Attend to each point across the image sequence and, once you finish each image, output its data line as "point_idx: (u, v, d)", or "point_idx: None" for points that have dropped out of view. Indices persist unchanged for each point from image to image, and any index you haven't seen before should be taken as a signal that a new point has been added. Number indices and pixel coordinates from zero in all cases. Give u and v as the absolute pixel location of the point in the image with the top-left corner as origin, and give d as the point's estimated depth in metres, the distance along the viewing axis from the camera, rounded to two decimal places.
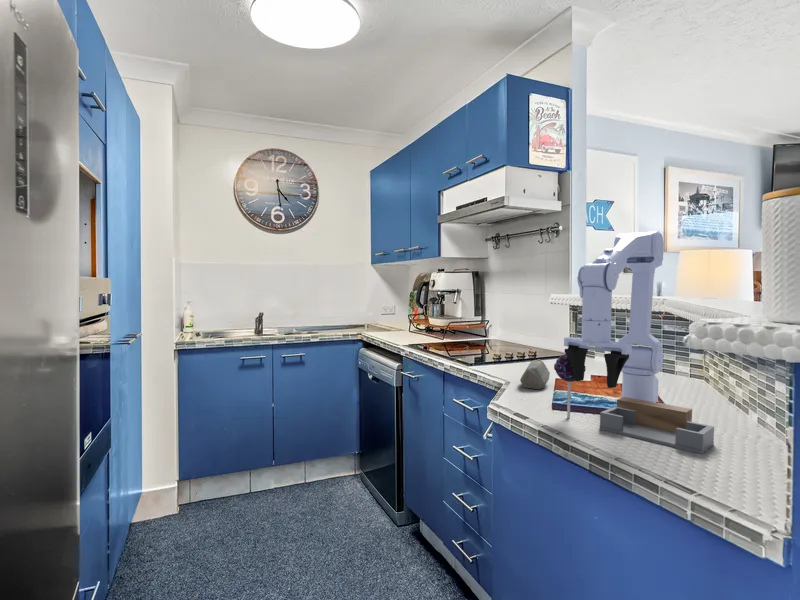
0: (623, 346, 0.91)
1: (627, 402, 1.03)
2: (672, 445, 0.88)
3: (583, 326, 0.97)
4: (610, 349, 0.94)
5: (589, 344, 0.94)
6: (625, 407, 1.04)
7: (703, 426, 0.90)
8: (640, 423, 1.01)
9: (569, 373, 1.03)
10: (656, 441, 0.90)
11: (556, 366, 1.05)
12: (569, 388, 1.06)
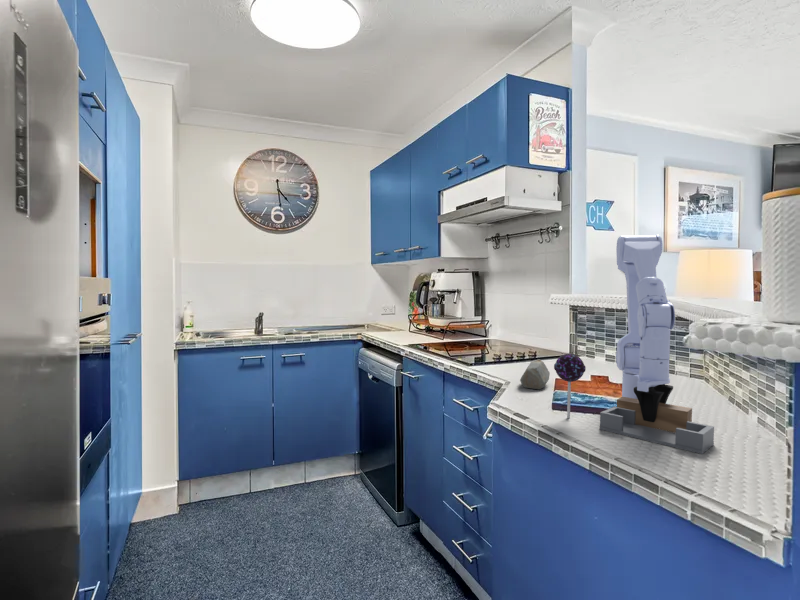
0: None
1: (627, 402, 1.03)
2: (672, 445, 0.88)
3: None
4: None
5: (634, 377, 1.03)
6: (625, 407, 1.03)
7: (703, 426, 0.90)
8: (640, 423, 1.01)
9: (569, 373, 1.03)
10: (656, 441, 0.90)
11: (556, 366, 1.05)
12: (569, 388, 1.06)
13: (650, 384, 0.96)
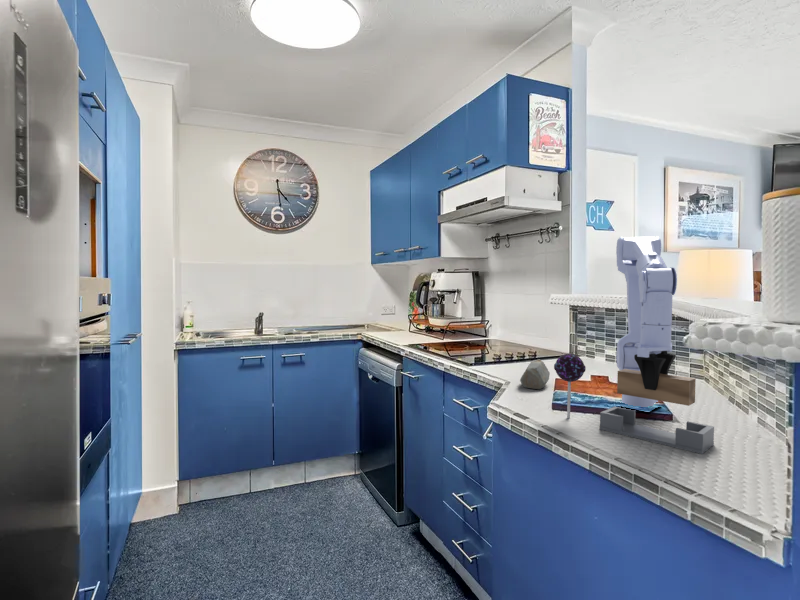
0: None
1: (628, 373, 1.00)
2: (672, 445, 0.88)
3: None
4: None
5: (635, 345, 1.00)
6: (626, 378, 1.00)
7: (703, 426, 0.90)
8: (641, 394, 0.98)
9: (569, 373, 1.03)
10: (656, 441, 0.90)
11: (556, 366, 1.05)
12: (569, 388, 1.06)
13: (651, 350, 0.93)
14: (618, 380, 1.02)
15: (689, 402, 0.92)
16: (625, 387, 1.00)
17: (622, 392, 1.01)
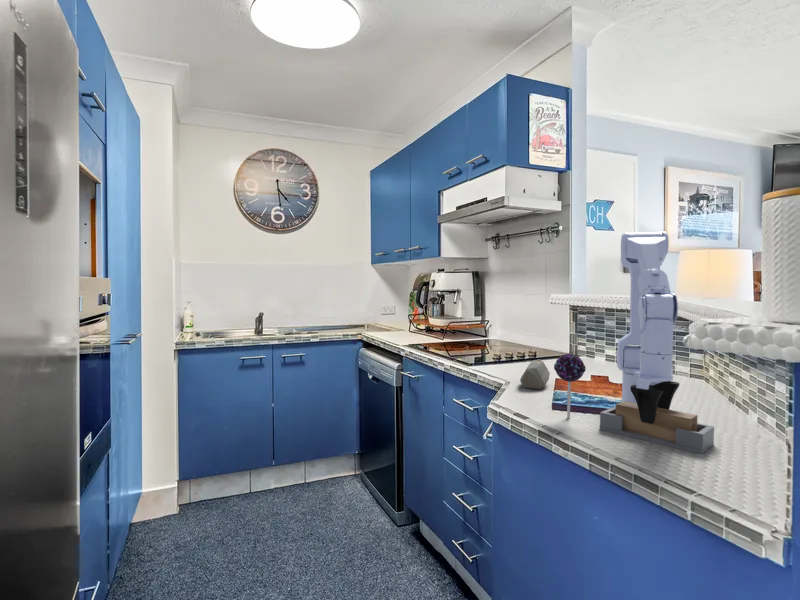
0: None
1: (627, 407, 0.96)
2: (672, 445, 0.88)
3: None
4: None
5: (634, 374, 0.95)
6: (624, 412, 0.96)
7: (703, 426, 0.90)
8: (641, 430, 0.94)
9: (569, 373, 1.03)
10: (656, 441, 0.90)
11: (556, 366, 1.05)
12: (569, 388, 1.06)
13: (651, 381, 0.89)
14: (616, 414, 0.97)
15: None
16: (624, 421, 0.96)
17: None
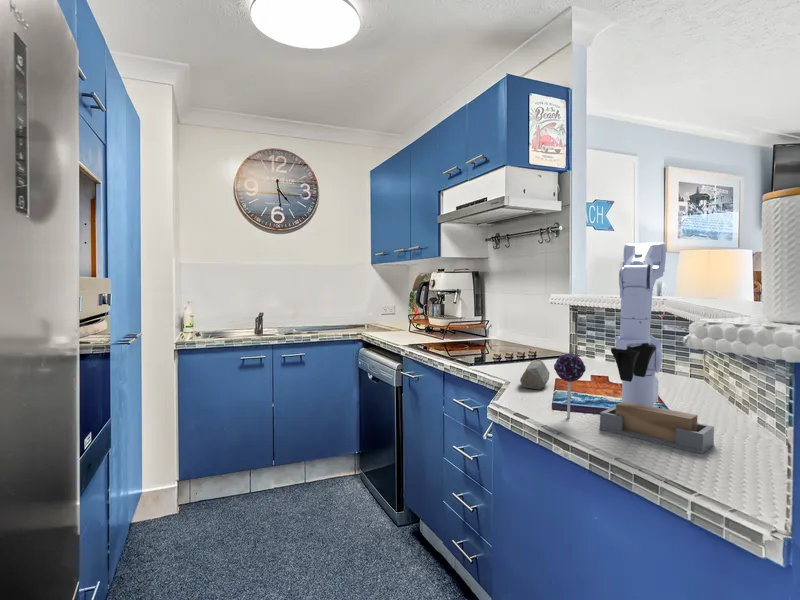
0: None
1: (627, 407, 0.96)
2: (672, 445, 0.88)
3: None
4: None
5: (615, 338, 1.05)
6: (624, 412, 0.96)
7: (703, 426, 0.90)
8: (641, 430, 0.94)
9: (569, 373, 1.03)
10: (656, 441, 0.90)
11: (556, 366, 1.05)
12: (569, 388, 1.06)
13: (628, 342, 0.98)
14: (616, 414, 0.97)
15: None
16: (624, 421, 0.96)
17: None
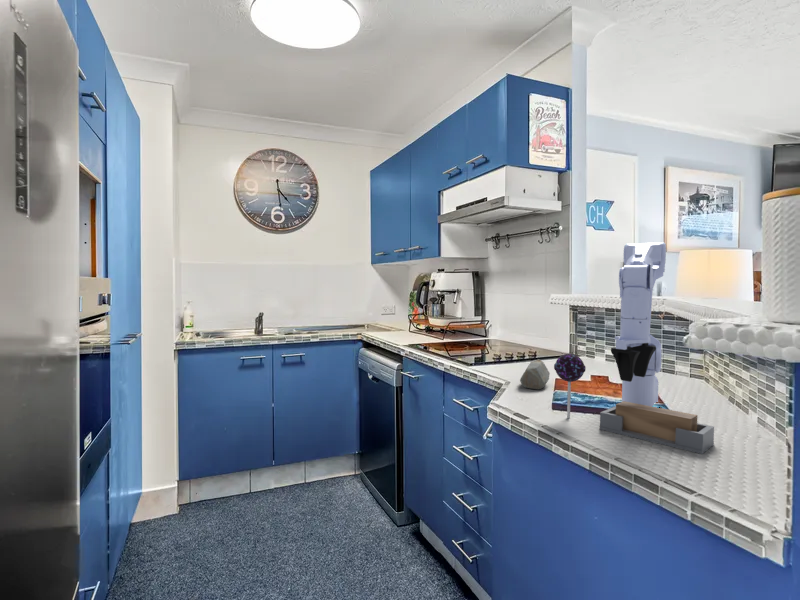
0: None
1: (627, 407, 0.96)
2: (672, 445, 0.88)
3: None
4: None
5: (615, 338, 1.05)
6: (624, 412, 0.96)
7: (703, 426, 0.90)
8: (641, 430, 0.94)
9: (569, 373, 1.03)
10: (656, 441, 0.90)
11: (556, 366, 1.05)
12: (569, 388, 1.06)
13: (628, 342, 0.98)
14: (616, 414, 0.97)
15: None
16: (624, 421, 0.96)
17: None
